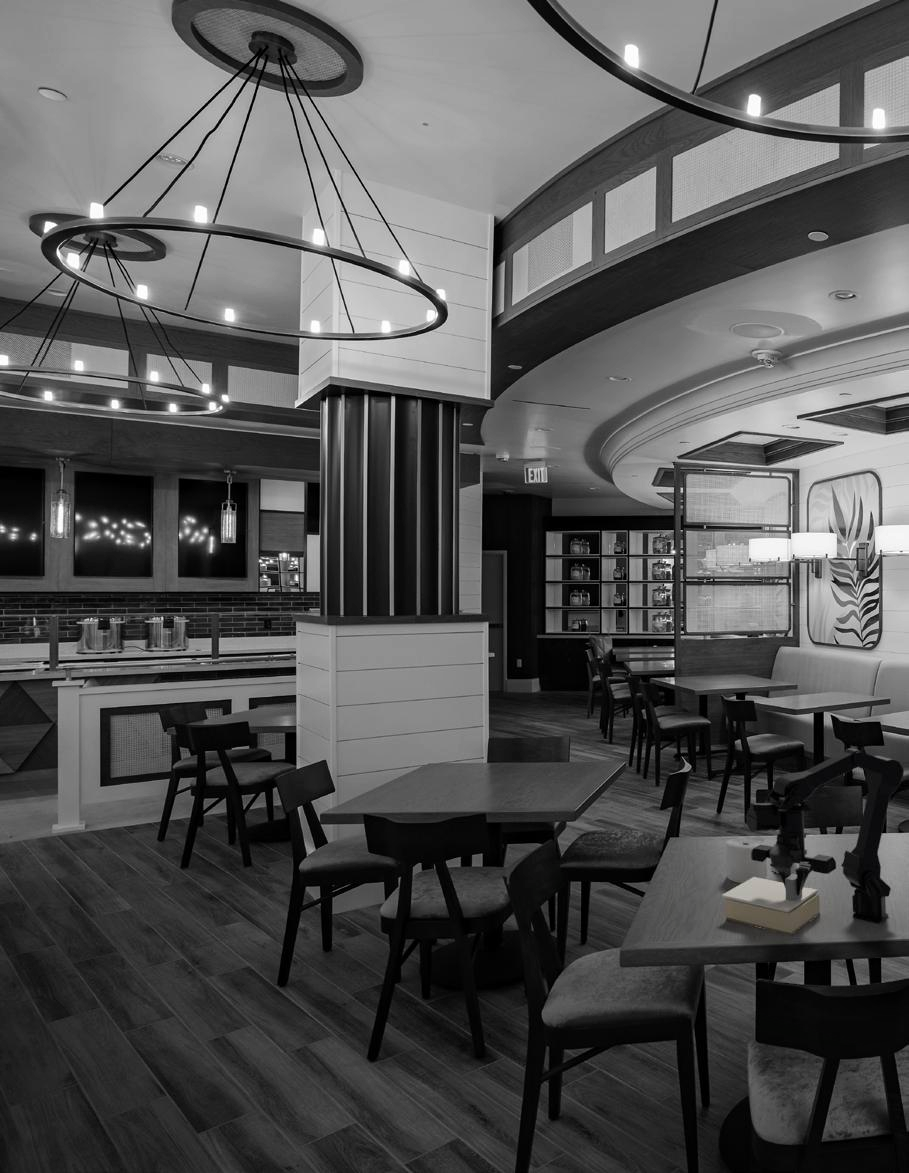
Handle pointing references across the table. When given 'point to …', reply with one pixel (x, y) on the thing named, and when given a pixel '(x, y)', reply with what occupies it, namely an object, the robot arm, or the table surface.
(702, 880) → the table surface
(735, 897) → the carton lid
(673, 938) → the table surface
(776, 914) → the carton
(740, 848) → the toilet tissue
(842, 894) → the table surface
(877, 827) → the robot arm
